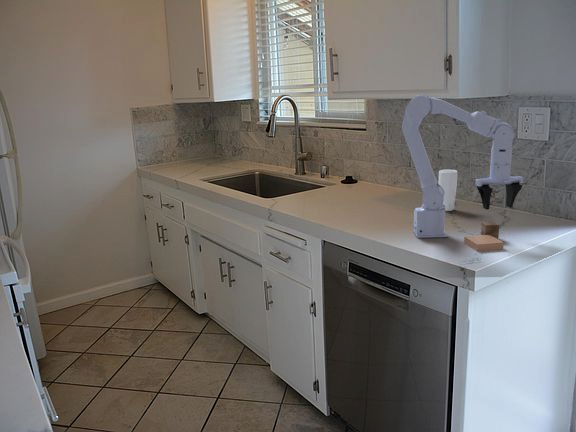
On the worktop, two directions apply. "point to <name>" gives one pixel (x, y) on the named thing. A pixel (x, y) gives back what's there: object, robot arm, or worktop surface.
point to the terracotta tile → (483, 242)
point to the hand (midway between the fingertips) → (497, 207)
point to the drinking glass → (448, 187)
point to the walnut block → (490, 229)
